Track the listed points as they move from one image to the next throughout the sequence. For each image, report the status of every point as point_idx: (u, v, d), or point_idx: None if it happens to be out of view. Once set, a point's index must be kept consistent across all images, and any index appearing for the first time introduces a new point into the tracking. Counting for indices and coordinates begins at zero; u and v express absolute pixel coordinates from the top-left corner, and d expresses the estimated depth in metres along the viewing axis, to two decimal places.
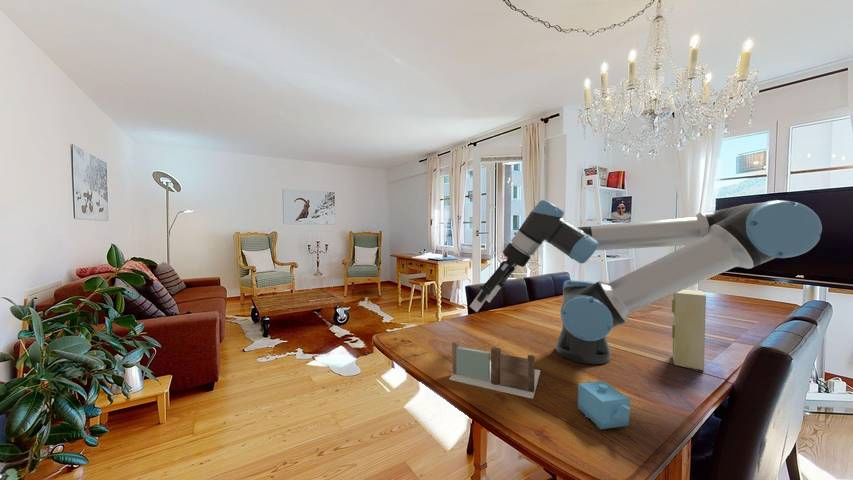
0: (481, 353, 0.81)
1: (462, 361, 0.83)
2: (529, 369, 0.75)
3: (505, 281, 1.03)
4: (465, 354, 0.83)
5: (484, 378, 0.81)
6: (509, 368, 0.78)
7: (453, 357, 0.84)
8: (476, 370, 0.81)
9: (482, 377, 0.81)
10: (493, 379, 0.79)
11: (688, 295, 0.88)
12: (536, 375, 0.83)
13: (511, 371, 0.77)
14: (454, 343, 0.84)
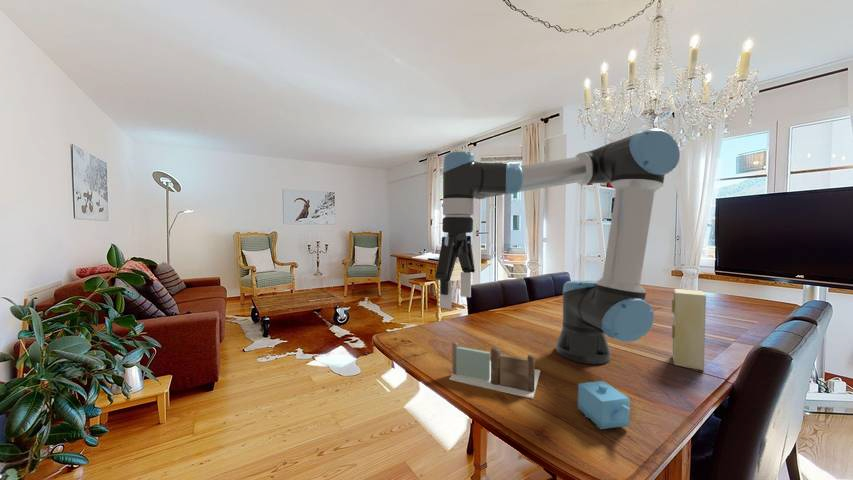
0: (481, 353, 0.81)
1: (462, 361, 0.83)
2: (529, 369, 0.75)
3: (473, 265, 0.86)
4: (465, 354, 0.83)
5: (484, 378, 0.81)
6: (509, 368, 0.78)
7: (453, 357, 0.84)
8: (476, 370, 0.81)
9: (482, 377, 0.81)
10: (493, 379, 0.79)
11: (688, 295, 0.88)
12: (536, 375, 0.83)
13: (511, 371, 0.77)
14: (454, 343, 0.84)
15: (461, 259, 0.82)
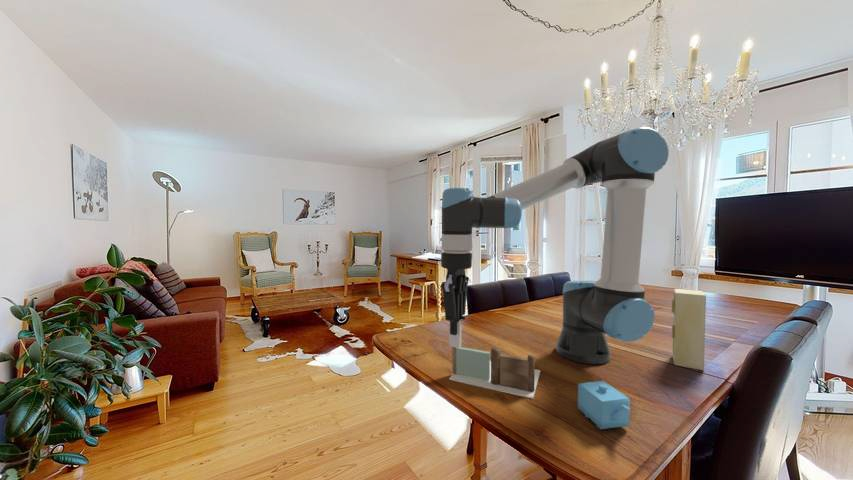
0: (481, 353, 0.81)
1: (462, 361, 0.83)
2: (529, 369, 0.75)
3: (464, 310, 0.80)
4: (465, 354, 0.83)
5: (484, 378, 0.81)
6: (509, 368, 0.78)
7: (453, 357, 0.84)
8: (476, 370, 0.81)
9: (482, 377, 0.81)
10: (493, 379, 0.79)
11: (688, 295, 0.88)
12: (536, 375, 0.83)
13: (511, 371, 0.77)
14: None
15: None
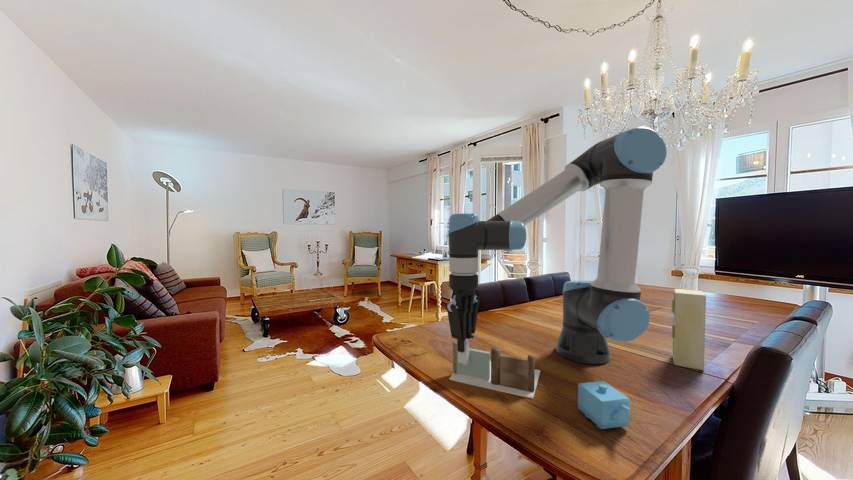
0: (481, 353, 0.81)
1: None
2: (529, 369, 0.75)
3: (474, 329, 0.83)
4: None
5: (484, 378, 0.81)
6: (509, 368, 0.78)
7: (454, 357, 0.84)
8: (476, 370, 0.82)
9: (482, 377, 0.81)
10: (493, 379, 0.79)
11: (688, 295, 0.88)
12: (536, 375, 0.83)
13: (511, 371, 0.77)
14: (454, 343, 0.85)
15: None
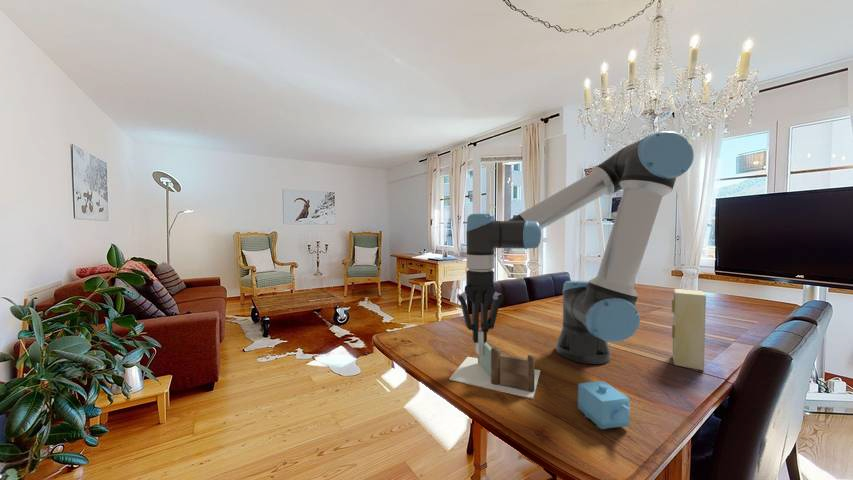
0: (488, 349, 0.83)
1: None
2: (529, 369, 0.75)
3: (492, 325, 0.86)
4: None
5: (489, 375, 0.83)
6: (509, 368, 0.78)
7: None
8: (486, 365, 0.85)
9: (488, 373, 0.83)
10: (493, 379, 0.79)
11: (688, 295, 0.88)
12: (536, 375, 0.83)
13: (511, 371, 0.77)
14: None
15: (481, 311, 0.88)
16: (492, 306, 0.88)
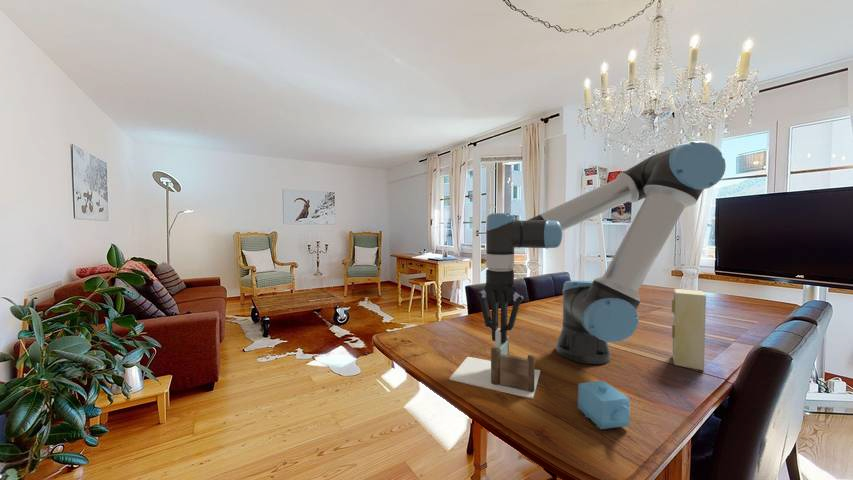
0: None
1: None
2: (529, 369, 0.75)
3: (510, 326, 0.85)
4: None
5: None
6: (509, 368, 0.78)
7: None
8: None
9: None
10: (493, 379, 0.79)
11: (688, 295, 0.88)
12: (536, 375, 0.83)
13: (511, 371, 0.77)
14: None
15: None
16: None
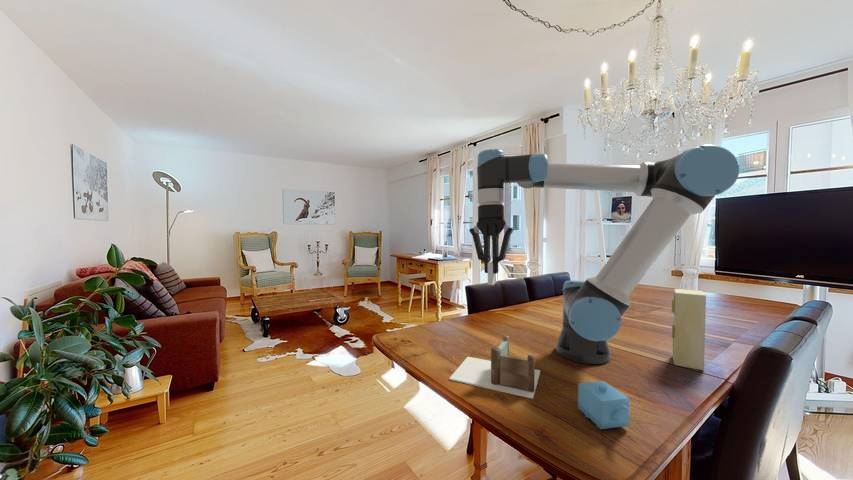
0: None
1: None
2: (529, 369, 0.75)
3: (501, 257, 0.90)
4: None
5: None
6: (509, 368, 0.78)
7: None
8: None
9: None
10: (493, 379, 0.79)
11: (688, 295, 0.88)
12: (536, 375, 0.83)
13: (511, 371, 0.77)
14: (505, 336, 0.89)
15: None
16: None
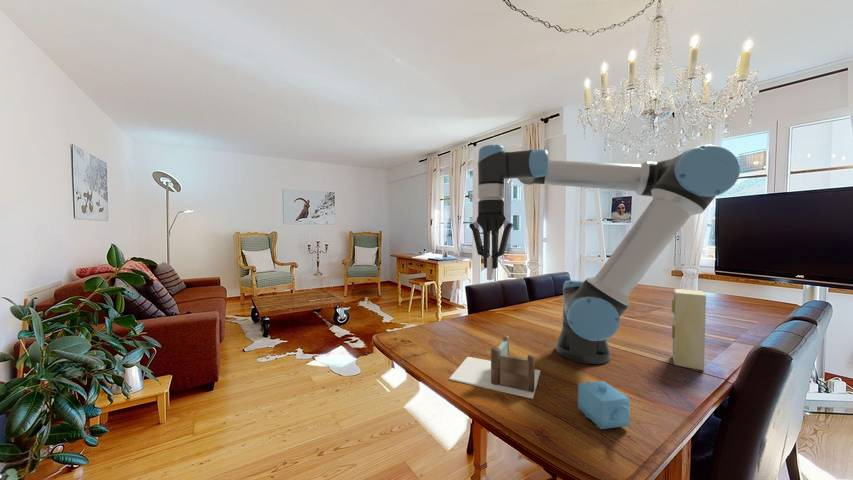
0: None
1: None
2: (529, 369, 0.75)
3: (500, 252, 0.90)
4: None
5: None
6: (509, 368, 0.78)
7: None
8: None
9: None
10: (493, 379, 0.79)
11: (688, 295, 0.88)
12: (536, 375, 0.83)
13: (511, 371, 0.77)
14: (505, 336, 0.89)
15: None
16: None
